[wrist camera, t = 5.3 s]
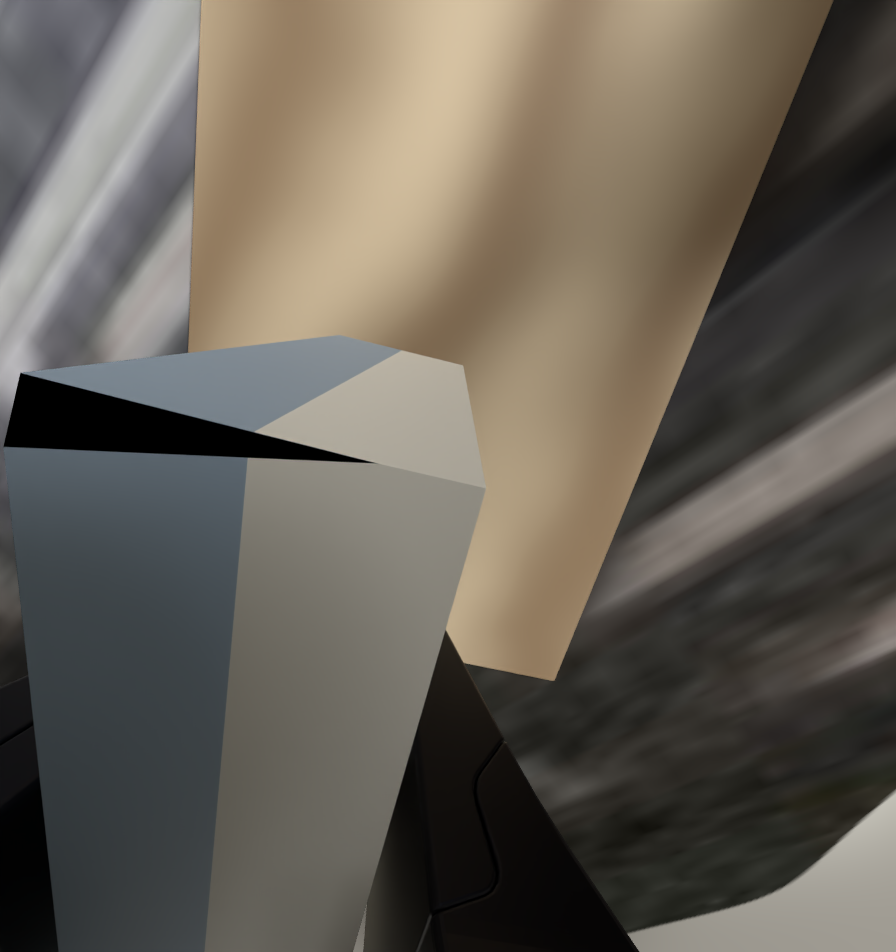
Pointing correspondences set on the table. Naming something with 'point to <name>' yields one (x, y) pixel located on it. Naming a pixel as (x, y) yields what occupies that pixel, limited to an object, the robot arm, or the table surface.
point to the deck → (233, 629)
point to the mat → (494, 233)
